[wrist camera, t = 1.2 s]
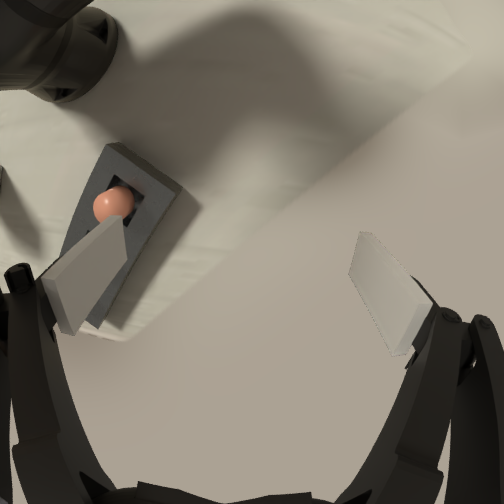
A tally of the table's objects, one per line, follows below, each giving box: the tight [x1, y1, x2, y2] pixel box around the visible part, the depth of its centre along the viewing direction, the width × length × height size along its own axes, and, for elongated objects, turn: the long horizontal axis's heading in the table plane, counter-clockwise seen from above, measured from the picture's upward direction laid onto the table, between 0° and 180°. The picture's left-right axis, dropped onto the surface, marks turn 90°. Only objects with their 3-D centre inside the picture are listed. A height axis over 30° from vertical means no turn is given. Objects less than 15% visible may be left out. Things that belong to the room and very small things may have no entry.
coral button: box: [93, 185, 135, 223], centre depth 29 cm, size 4×4×4 cm
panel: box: [59, 142, 183, 329], centre depth 35 cm, size 11×28×4 cm, turn 142°
